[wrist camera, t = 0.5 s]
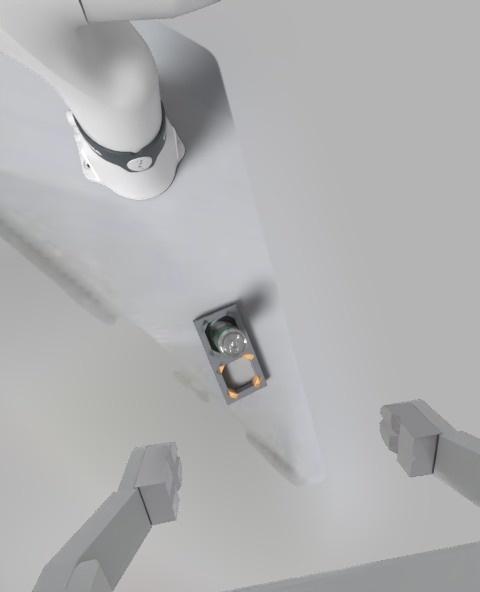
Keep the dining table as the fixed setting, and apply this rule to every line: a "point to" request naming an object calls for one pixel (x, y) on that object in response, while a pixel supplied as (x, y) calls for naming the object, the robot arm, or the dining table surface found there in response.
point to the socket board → (220, 361)
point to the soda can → (228, 339)
